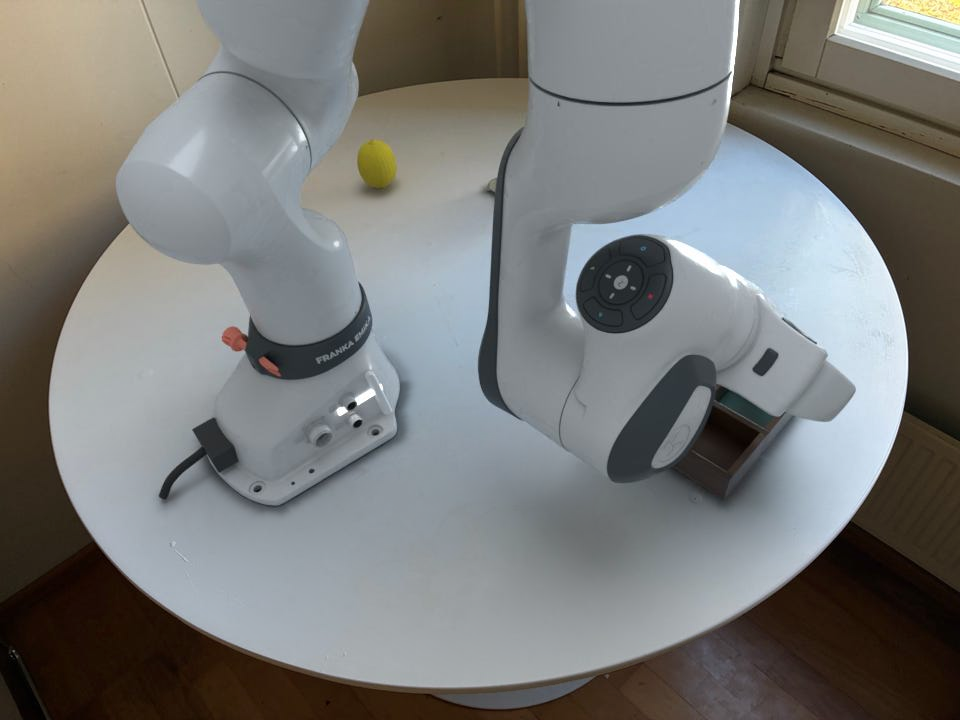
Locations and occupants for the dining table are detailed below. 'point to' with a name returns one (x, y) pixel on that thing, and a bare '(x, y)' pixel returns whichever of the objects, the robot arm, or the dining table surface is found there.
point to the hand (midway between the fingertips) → (770, 348)
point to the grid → (729, 443)
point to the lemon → (376, 163)
